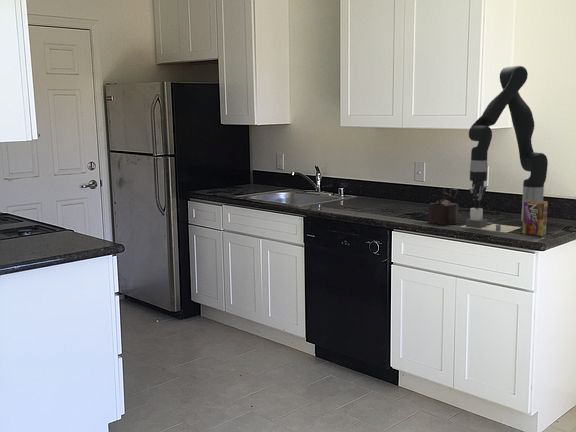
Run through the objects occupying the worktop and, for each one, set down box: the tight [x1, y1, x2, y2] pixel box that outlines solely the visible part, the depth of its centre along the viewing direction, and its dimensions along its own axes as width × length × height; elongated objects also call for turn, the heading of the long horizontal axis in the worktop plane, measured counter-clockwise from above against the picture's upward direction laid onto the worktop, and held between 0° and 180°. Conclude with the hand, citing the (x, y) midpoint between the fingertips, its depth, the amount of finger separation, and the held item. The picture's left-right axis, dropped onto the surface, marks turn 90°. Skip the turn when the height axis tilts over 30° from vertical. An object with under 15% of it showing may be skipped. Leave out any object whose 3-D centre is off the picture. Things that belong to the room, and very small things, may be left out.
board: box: [460, 218, 523, 234], centre depth 295 cm, size 16×22×4 cm
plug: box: [469, 207, 484, 221], centre depth 297 cm, size 4×5×8 cm
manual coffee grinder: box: [427, 187, 460, 226], centre depth 308 cm, size 16×11×18 cm
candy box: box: [522, 200, 549, 239], centre depth 277 cm, size 9×4×15 cm, turn 47°
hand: (476, 208), depth 296 cm, fingers closed
